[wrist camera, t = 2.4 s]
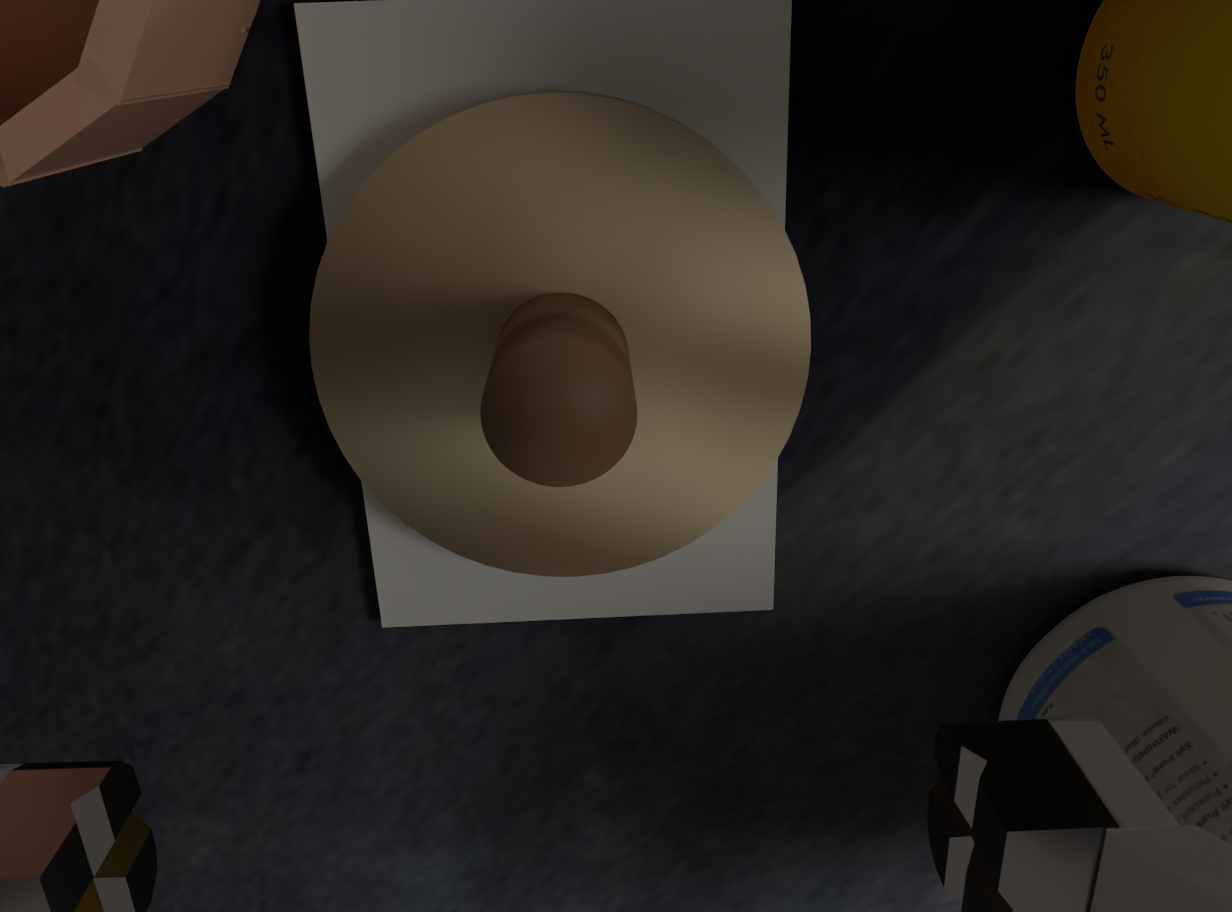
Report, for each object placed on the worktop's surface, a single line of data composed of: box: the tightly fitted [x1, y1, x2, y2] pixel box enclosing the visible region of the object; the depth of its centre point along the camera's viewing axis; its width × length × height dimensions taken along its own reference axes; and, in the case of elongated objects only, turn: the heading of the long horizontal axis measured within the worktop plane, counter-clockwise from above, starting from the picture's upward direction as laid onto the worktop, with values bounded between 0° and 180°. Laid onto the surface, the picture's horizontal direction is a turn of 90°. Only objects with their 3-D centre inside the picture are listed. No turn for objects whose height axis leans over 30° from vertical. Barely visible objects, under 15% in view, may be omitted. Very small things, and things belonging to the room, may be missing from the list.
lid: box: [309, 91, 811, 577], centre depth 23 cm, size 12×12×5 cm
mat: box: [294, 0, 792, 627], centre depth 26 cm, size 16×11×1 cm
